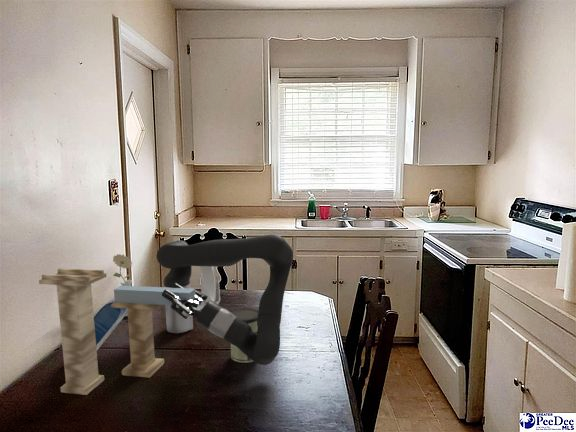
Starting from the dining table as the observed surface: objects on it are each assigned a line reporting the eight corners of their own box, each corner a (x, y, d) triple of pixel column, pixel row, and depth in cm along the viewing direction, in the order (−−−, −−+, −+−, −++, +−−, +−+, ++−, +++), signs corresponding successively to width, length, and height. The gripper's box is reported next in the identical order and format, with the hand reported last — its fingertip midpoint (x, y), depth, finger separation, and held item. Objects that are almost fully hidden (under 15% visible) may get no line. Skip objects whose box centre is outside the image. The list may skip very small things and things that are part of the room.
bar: (195, 301, 128) (195, 288, 128) (190, 306, 124) (189, 293, 124) (122, 298, 133) (121, 285, 133) (114, 302, 129) (113, 289, 129)
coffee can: (238, 347, 147) (237, 306, 145) (267, 350, 144) (266, 310, 142) (224, 360, 137) (223, 318, 135) (254, 365, 134) (253, 321, 132)
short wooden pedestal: (171, 363, 136) (167, 297, 133) (157, 378, 127) (153, 307, 124) (131, 360, 139) (126, 295, 136) (114, 374, 130) (109, 305, 127)
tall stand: (114, 380, 126) (105, 269, 122) (95, 396, 118) (84, 278, 113) (72, 376, 129) (62, 267, 125) (50, 392, 121) (38, 276, 116)
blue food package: (64, 353, 132) (116, 288, 133) (80, 341, 144) (128, 282, 145) (80, 365, 132) (133, 300, 134) (95, 353, 144) (143, 293, 146)
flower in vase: (148, 312, 182) (145, 253, 178) (125, 320, 172) (121, 259, 169) (128, 306, 189) (124, 250, 185) (105, 314, 179) (100, 255, 176)
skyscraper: (217, 306, 187) (214, 242, 183) (198, 306, 187) (195, 242, 183) (220, 300, 195) (218, 238, 191) (202, 300, 195) (199, 239, 191)
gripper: (230, 300, 132) (184, 271, 133) (213, 318, 118) (161, 285, 119) (219, 320, 133) (174, 291, 135) (201, 340, 119) (150, 307, 121)
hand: (168, 289), depth 127 cm, fingers open, 5 cm apart
